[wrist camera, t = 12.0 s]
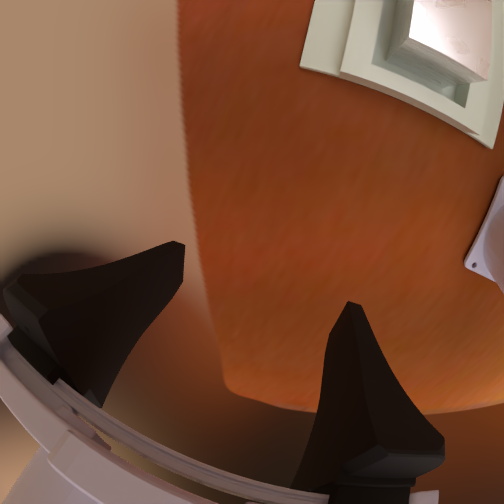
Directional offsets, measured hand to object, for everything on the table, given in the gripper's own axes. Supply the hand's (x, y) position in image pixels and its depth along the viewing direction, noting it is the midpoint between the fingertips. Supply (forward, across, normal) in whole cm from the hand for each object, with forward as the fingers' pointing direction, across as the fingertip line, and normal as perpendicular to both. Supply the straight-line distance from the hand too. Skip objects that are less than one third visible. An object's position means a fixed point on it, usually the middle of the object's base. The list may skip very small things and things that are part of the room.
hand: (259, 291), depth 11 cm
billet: (+9, -5, -15) cm, 18 cm away
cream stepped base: (+9, -5, -20) cm, 23 cm away
